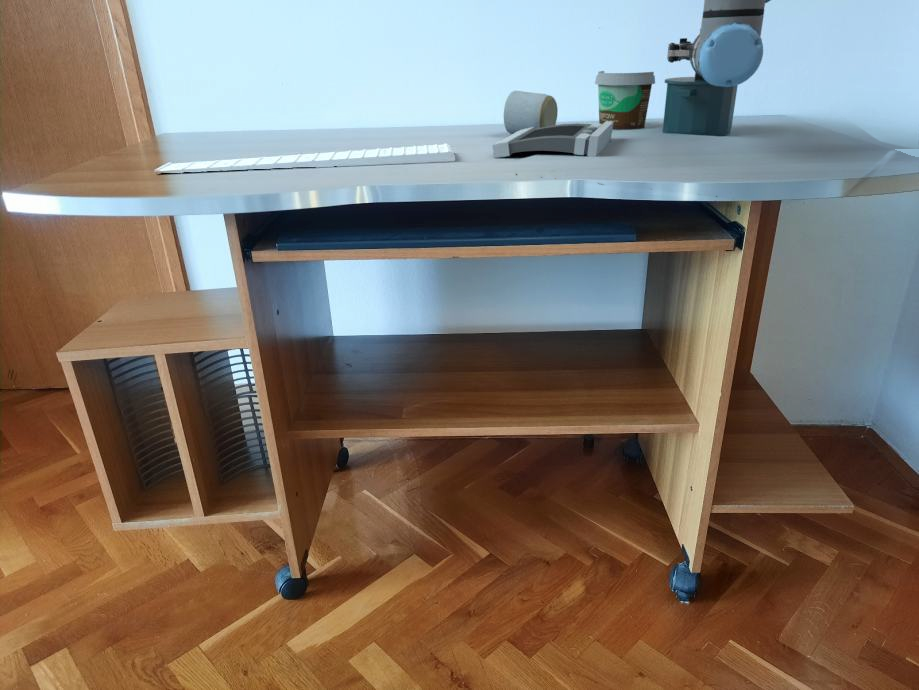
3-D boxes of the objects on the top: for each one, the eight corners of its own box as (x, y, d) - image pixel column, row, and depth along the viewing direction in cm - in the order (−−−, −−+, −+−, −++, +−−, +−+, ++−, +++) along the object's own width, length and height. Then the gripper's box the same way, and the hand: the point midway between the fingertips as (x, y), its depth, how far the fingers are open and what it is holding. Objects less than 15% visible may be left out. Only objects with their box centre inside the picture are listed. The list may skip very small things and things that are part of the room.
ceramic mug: (542, 138, 115) (544, 92, 112) (502, 136, 119) (502, 92, 116) (565, 131, 123) (567, 88, 120) (526, 130, 127) (527, 88, 124)
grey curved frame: (598, 136, 93) (490, 126, 97) (593, 168, 95) (488, 157, 99) (613, 121, 107) (519, 113, 112) (609, 150, 109) (517, 140, 114)
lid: (749, 83, 113) (758, 26, 109) (726, 89, 104) (734, 27, 101) (680, 82, 120) (685, 28, 116) (652, 87, 112) (657, 29, 108)
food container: (579, 127, 127) (582, 72, 123) (598, 123, 131) (601, 70, 127) (632, 132, 119) (637, 73, 115) (651, 128, 123) (656, 71, 118)
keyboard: (153, 175, 95) (150, 164, 94) (170, 166, 102) (168, 155, 101) (455, 161, 97) (454, 150, 97) (451, 152, 105) (451, 142, 104)
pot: (743, 128, 118) (751, 78, 115) (711, 141, 107) (719, 86, 103) (682, 125, 125) (687, 78, 121) (645, 136, 113) (650, 85, 110)
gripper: (651, 81, 98) (647, 72, 118) (781, 79, 94) (754, 70, 114) (656, 27, 95) (651, 27, 115) (791, 22, 91) (762, 23, 111)
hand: (702, 49), depth 114 cm, fingers open, 5 cm apart
